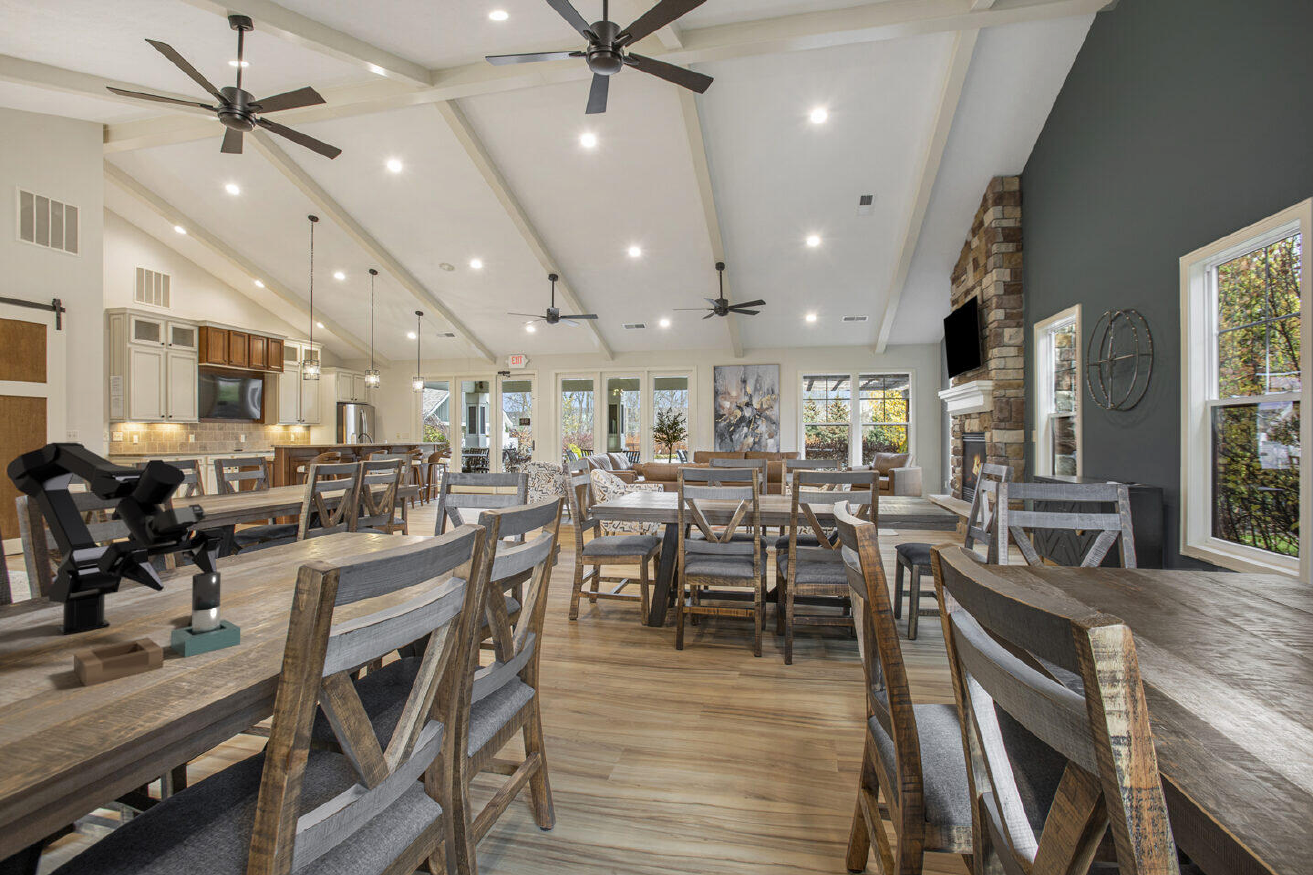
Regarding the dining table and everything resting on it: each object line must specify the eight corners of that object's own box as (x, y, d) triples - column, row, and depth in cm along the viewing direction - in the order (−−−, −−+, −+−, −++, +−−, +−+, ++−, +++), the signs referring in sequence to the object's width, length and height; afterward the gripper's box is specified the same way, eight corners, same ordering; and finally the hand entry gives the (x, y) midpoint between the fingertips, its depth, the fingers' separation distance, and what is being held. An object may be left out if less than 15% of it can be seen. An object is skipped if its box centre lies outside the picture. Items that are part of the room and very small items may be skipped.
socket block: (170, 647, 101) (171, 630, 101) (224, 634, 107) (224, 619, 107) (185, 657, 96) (185, 639, 96) (240, 643, 103) (240, 627, 103)
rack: (73, 671, 90) (74, 653, 90) (147, 654, 97) (147, 637, 97) (85, 686, 85) (86, 666, 85) (163, 667, 92) (163, 648, 92)
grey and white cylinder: (188, 646, 101) (189, 574, 101) (215, 640, 105) (216, 570, 105) (195, 651, 99) (196, 578, 99) (223, 644, 102) (223, 573, 102)
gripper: (109, 496, 96) (154, 564, 93) (220, 488, 114) (261, 545, 111) (77, 540, 98) (120, 608, 95) (191, 525, 116) (230, 582, 113)
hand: (189, 583), depth 103 cm, fingers open, 9 cm apart
